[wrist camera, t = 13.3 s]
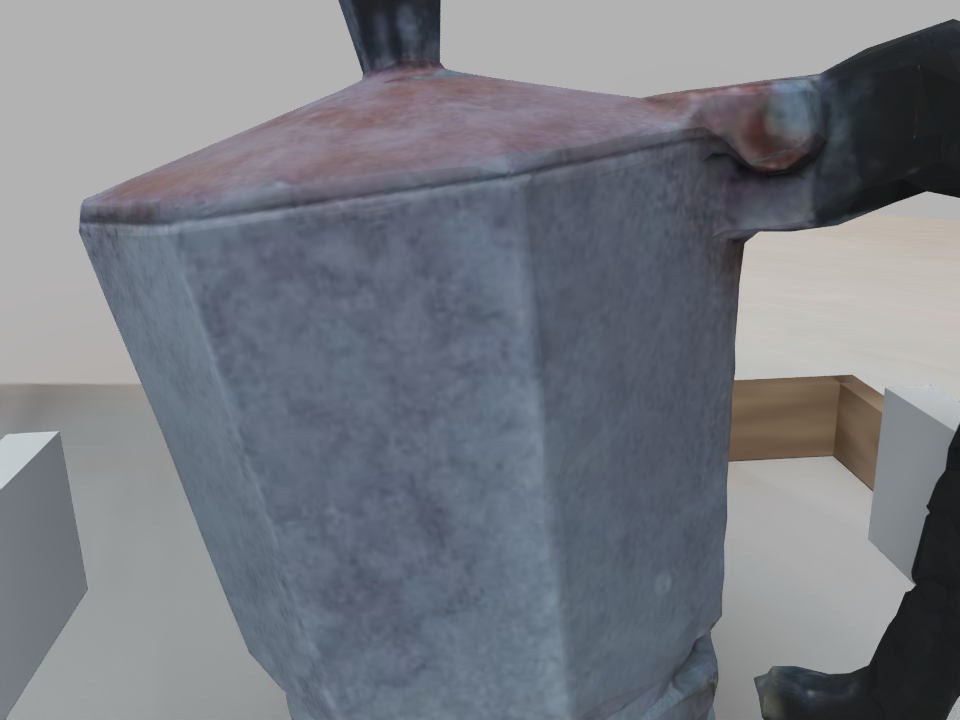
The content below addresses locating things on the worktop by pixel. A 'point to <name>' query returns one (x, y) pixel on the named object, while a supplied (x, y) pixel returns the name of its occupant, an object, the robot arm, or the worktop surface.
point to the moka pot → (507, 374)
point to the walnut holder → (808, 421)
